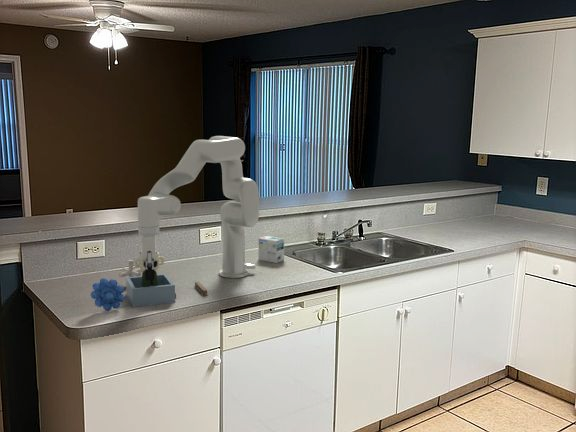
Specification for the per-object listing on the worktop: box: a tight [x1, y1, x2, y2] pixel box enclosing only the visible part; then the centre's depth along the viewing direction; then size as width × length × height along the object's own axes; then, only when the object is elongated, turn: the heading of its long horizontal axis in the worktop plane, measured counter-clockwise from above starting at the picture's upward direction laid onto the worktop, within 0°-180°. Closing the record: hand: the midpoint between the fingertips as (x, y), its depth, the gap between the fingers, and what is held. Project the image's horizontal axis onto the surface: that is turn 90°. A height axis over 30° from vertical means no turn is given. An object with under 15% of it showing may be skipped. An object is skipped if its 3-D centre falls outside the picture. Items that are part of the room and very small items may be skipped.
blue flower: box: [90, 277, 126, 312], centre depth 200 cm, size 12×7×12 cm, turn 119°
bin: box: [125, 273, 176, 308], centre depth 215 cm, size 15×15×7 cm
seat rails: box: [175, 280, 208, 300], centre depth 223 cm, size 14×12×2 cm
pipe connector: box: [118, 259, 143, 278], centre depth 230 cm, size 10×10×10 cm
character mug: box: [133, 250, 165, 287], centre depth 214 cm, size 11×7×13 cm, turn 118°
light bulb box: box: [257, 235, 285, 264], centre depth 272 cm, size 11×7×11 cm, turn 58°
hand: (149, 276), depth 214 cm, fingers closed on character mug, 7 cm apart
